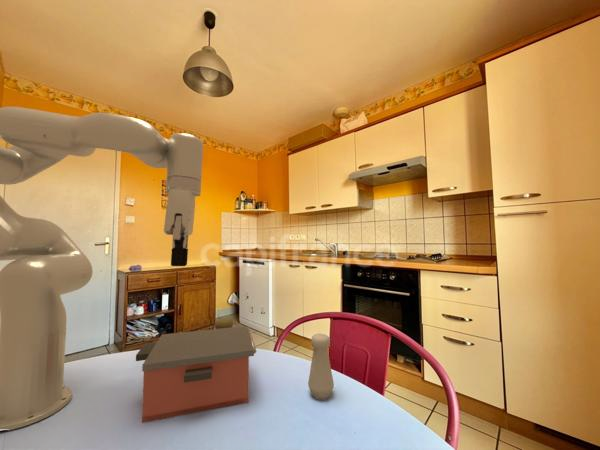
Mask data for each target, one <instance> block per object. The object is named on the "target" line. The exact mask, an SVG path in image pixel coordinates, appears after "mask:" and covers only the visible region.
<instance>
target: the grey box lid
mask: <svg viewBox="0 0 600 450" xmlns="http://www.w3.org/2000/svg"><path fill="white" fill-rule="evenodd" d="M181 332H182V333H180V332H173V333H165V334H164V333H163V334H161V335H160V336H159V339H158V340H157V341H156V342H148V343H144V344H143V345H142V346H141V348H140V349H139V351H138V352H137V353H136V355H135V362H140V361H144V362H143V363H142V364H141V365H142V367H141V368H142V369H141V372H144V371H149V370H157V369H164V368H171V367H178V366H185V365H192V364H199V363H207V362H214V361H221V360H228V359H235V358H242V357H249V358H250V357H254V356H255V354H256V353H257V348H256V344H255V342H254V340H253V339H254V338H253V335H252V331H251V329H250V327H249V326H248V325H242V326H241V325H240V326H232V327H230V328H221V329H215V328H214V329H213V328H211V329H203V330H195V331H193V330H191V331H185V332H184V331H181Z"/></svg>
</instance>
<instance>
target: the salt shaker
mask: <svg viewBox="0 0 600 450" xmlns="http://www.w3.org/2000/svg"><path fill="white" fill-rule="evenodd" d="M310 342H311V343H310V345H311V346H312V348H313V352H312V357H311V364H310V371H309V376H308V382H307V384H308V385H307V386H308V388H309V391H310V394H311V396H312V397H314V398H315V399H316V400H327V399H328V398H329V397H330V396H331V394H332V392H333V389H334V386H335V384H334V383H335V382H334V379H333V373H332V368H331V367H332V366H331V361H330V356H329V349H328V348H330V346H331V338H330V336H329V335H328V334H326V333H321V332H320V333H315V334H313V335H312V336H311V340H310Z"/></svg>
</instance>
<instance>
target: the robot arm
mask: <svg viewBox="0 0 600 450" xmlns="http://www.w3.org/2000/svg"><path fill="white" fill-rule="evenodd" d="M0 139H1V140H3V141H4V142H6V143H8V144H10V145H11V146H9V147H8V148H6V147H3V146H1V145H0V185H5V186H6V185H7V186H8V185H9V186H10V185H16V184H19V183H22V182H25V181H28V180H29V179H31V178H33V177H34V176H37V175H38V174H40V173H41V172H43V171H46V170H48V169H49V168H51V167H52V166H55V165H56V164H58V163H59V162H61V161H63V160H64V159H65V158H67V157H68V156H74V157H81V158H85V157H89V156H91V155H92V154H94V153H95V151H96V149H102V150H103V149H104V150H110V151H111V150H112V151H115V152H116V151H117V152H121V153H127V154H130V155H132V156H134V157H135V158H136V159H138V160H139V161H141V162H142V163H143V164H145V165H146V166H148V167H150V168H154V169H166V176H165V177H166V182H165V193H166V194H168V195H167V201H166V208H165V216H164V217H165V218H164V227H163V233H164V234H165V235H170V236H172V246H171V247H172V248H171V255H170V257H171V259H170V266H171V267H186V266H187V265H188V257H189V256H188V254H189V248H188V244H189V236H191V235H192V234H193V232H194V221H195V210H196V208H195V207H196V197H200V196H201V194H202V193H201V192H202V191H201V190H202V176H203V161H204V160H203V158H204V157H203V156H204V144H203V142H202V140H201V139H200V138H199V137H198V136H195V135H193V134H190V133H185V132H177V133H173V134H172V135H171V136H170V137H169V139H168V138H166V137H165V136H162V134H161V133H160V132H159V131H158V130H157V129H156V128H155V126H153V125H152V124H150V123H149V122H147V121H145V120H142V119H140V118H136V117H132V116H127V115H121V114H117V113H116V114H115V113H110V112H94V113H93V112H92V113H90V114H85V115H82V116H74V115H67V114H63V113H56V112H52V111H51V112H50V111H44V110H39V109H33V108H27V107H21V106H4V107H0ZM0 261H10V262H9V263H8V264H6V265H5V266H4V267H2V268H1V270H0V429H10V430H9V431H12V430H17V429H20V428H23V427H26V426H29V425H32V424H34V423H38V422H39V421H41V420H43V419H46V418H48V417H49V416H51V415H53V414H55V413H57V412H58V411H60V410H61V409H62V408H64V407H66V405H68V403H70V402H71V399H72V398H73V397H72V396H73V390H72V389H71V388H70V387H67V386H64V375H65V374H64V373H65V359H66V340H67V311H66V307H65V305H64V303H63V300H62V298H61V296H62V295H65V294H68V293H72V292H76V291H78V290H80V289H82V288H83V287H85V286H86V285H87V284H89V282H90V281H91V279H92V277H93V272H94V271H93V266H92V263H91V262H90V260H89V258H88V257H87V255H86V254H85V253H84V252H83V251H82V250H81V248H79V246H78V245H77V244H76V243H75V242H74V241H73V240H72V238H71V237H70V236H69V234H67V232H66V231H64V229H63V228H62V227H60V226H59V225H57V224H56V223H54V222H52V221H50V220H47V219H42V218H37V217H35V218H34V217H26V216H24V215H20V214H19V213H18V212H16V211H15V210H14V209H13V208H12V207H11V206H10V205H9V204H8V203H7V202H6V200H5V199H4V198H3V197H2V196H1V195H0Z"/></svg>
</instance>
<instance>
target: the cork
mask: <svg viewBox="0 0 600 450" xmlns="http://www.w3.org/2000/svg"><path fill="white" fill-rule="evenodd" d="M233 325H234V322H233V320H232V319H231V318H229V317H222V318H221V317H220V318H219V319H218V318H217V319H216V321H215V323H214V329H221V328H230V327H234V326H233Z"/></svg>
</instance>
